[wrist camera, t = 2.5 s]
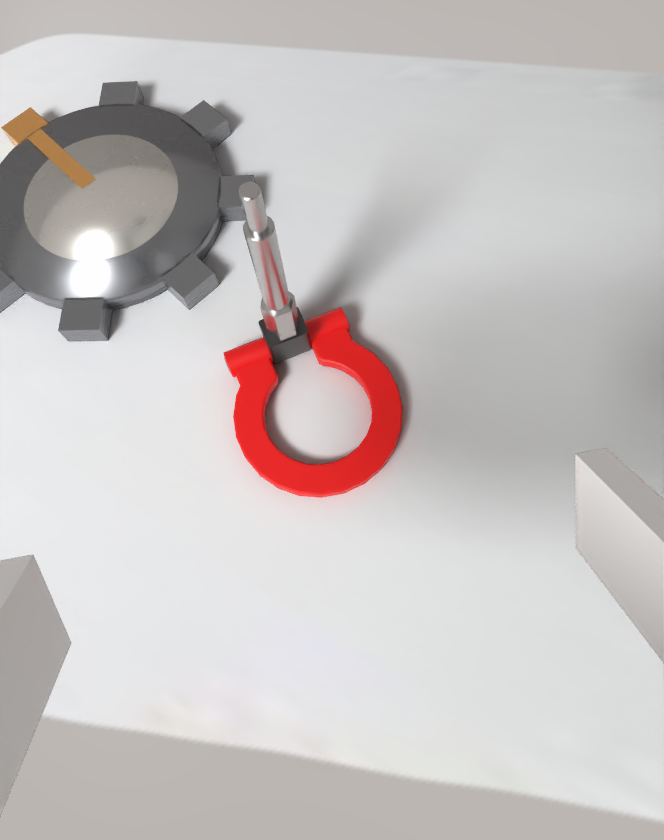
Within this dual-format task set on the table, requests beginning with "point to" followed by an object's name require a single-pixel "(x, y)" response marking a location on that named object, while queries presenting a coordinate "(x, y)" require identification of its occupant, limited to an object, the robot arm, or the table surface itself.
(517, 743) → the table surface
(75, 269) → the sprocket plate
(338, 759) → the table surface
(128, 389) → the table surface
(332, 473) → the tow hook
